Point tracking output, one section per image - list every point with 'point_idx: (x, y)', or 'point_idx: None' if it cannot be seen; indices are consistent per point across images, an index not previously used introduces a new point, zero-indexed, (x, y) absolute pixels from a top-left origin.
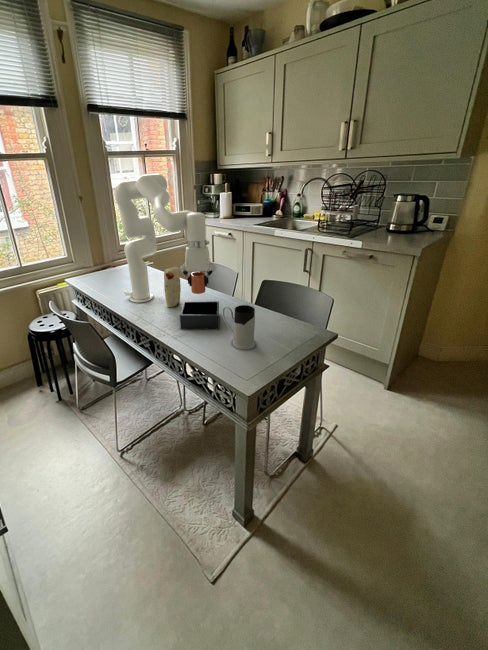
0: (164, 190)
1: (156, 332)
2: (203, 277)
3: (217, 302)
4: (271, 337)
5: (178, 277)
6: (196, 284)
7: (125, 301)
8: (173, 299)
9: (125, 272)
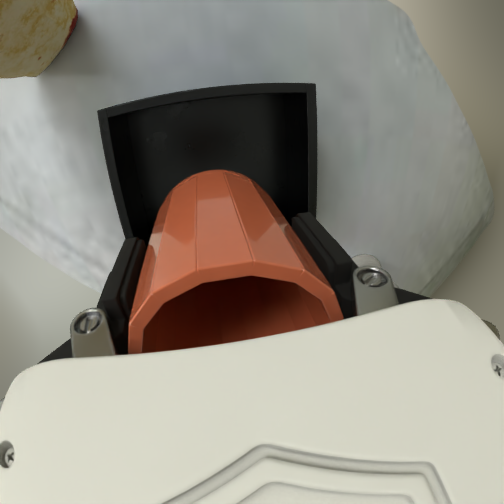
0: None
1: (80, 273)
2: None
3: (308, 97)
4: (420, 239)
5: None
6: (222, 333)
7: None
8: (40, 57)
9: None
